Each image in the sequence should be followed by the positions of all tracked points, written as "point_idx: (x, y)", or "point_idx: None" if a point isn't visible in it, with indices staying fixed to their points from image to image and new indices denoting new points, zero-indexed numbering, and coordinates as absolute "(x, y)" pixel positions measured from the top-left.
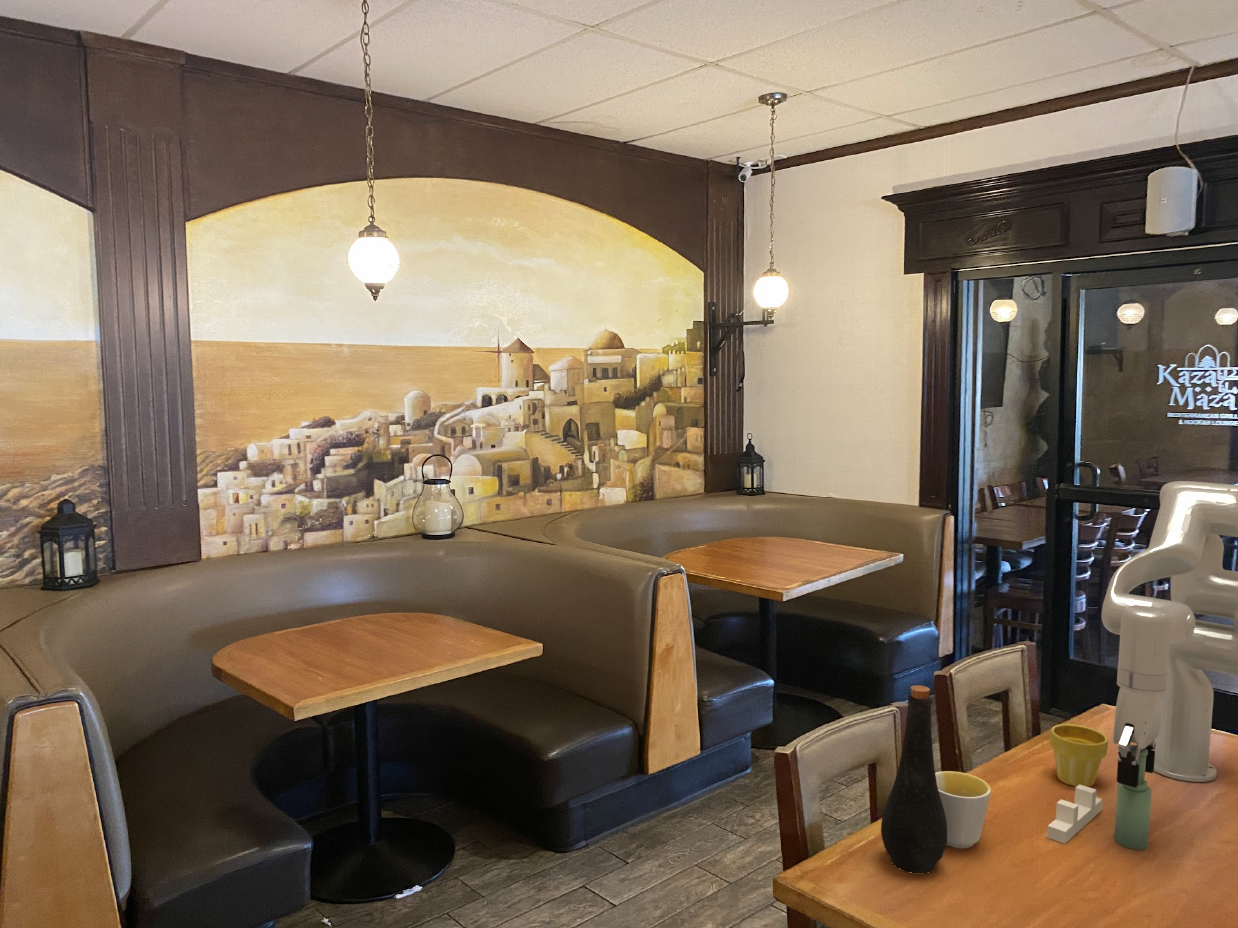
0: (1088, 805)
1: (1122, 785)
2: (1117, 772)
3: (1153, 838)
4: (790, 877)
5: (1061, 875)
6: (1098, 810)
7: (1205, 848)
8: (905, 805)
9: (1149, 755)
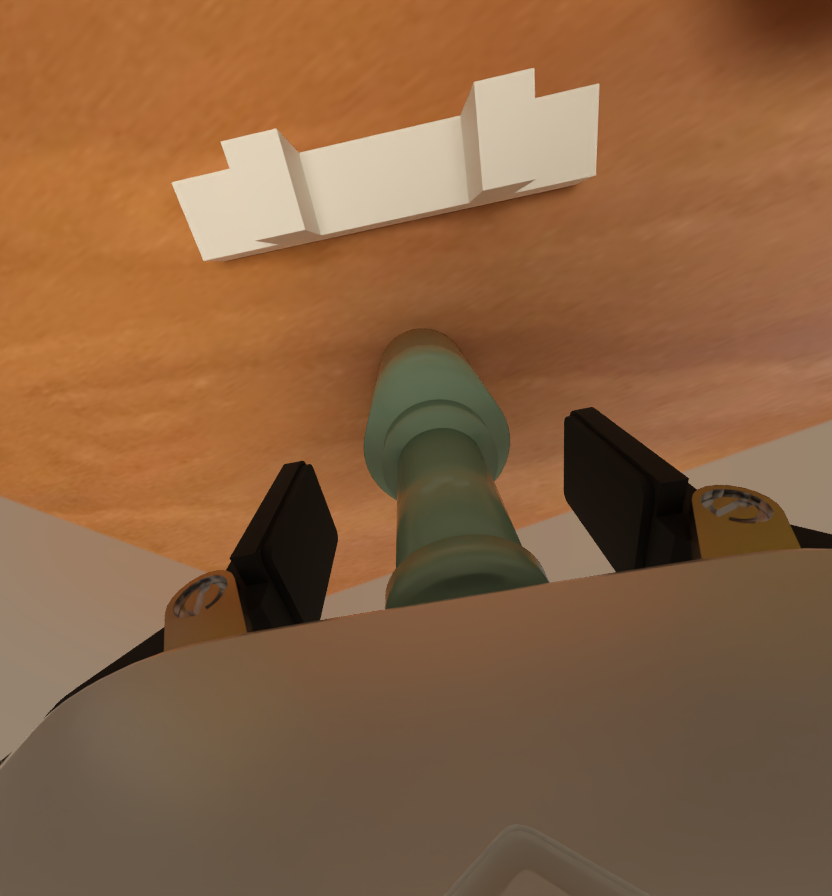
0: (468, 186)
1: (403, 412)
2: (269, 493)
3: (497, 394)
4: None
5: (71, 368)
6: (540, 191)
7: (543, 483)
8: None
9: (615, 553)
